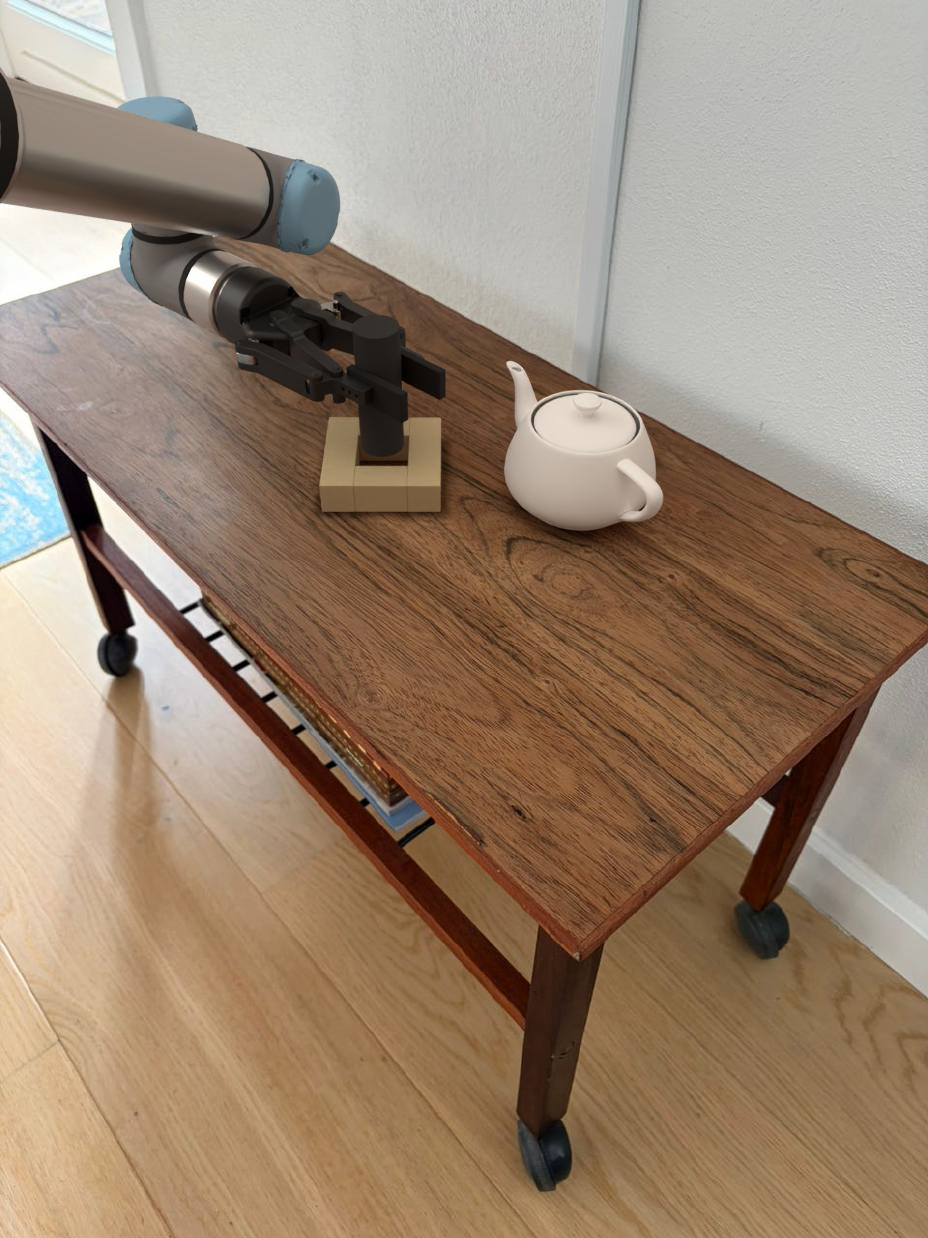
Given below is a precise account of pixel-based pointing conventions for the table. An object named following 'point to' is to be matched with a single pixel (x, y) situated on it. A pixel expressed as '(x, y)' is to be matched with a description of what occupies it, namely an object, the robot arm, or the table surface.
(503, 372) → the table surface
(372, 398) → the robot arm
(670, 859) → the table surface
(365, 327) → the black cylinder peg
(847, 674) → the table surface
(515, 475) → the teapot
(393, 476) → the base pad
